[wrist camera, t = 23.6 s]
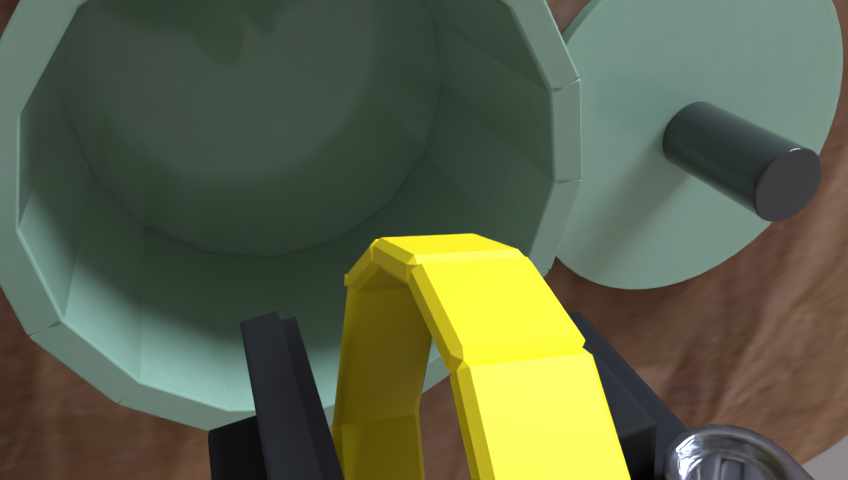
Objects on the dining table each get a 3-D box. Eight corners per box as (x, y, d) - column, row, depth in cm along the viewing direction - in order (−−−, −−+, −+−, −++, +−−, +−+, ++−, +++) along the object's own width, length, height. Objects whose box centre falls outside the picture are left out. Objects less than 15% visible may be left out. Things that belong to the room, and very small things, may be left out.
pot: (126, 311, 24) (115, 501, 17) (-53, -98, 18) (-189, -59, 11) (473, 212, 27) (586, 342, 20) (430, -176, 20) (577, -186, 13)
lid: (523, 314, 30) (599, 410, 25) (497, -24, 23) (596, 13, 18) (794, 226, 33) (912, 296, 28) (846, -98, 26) (1018, -84, 21)
